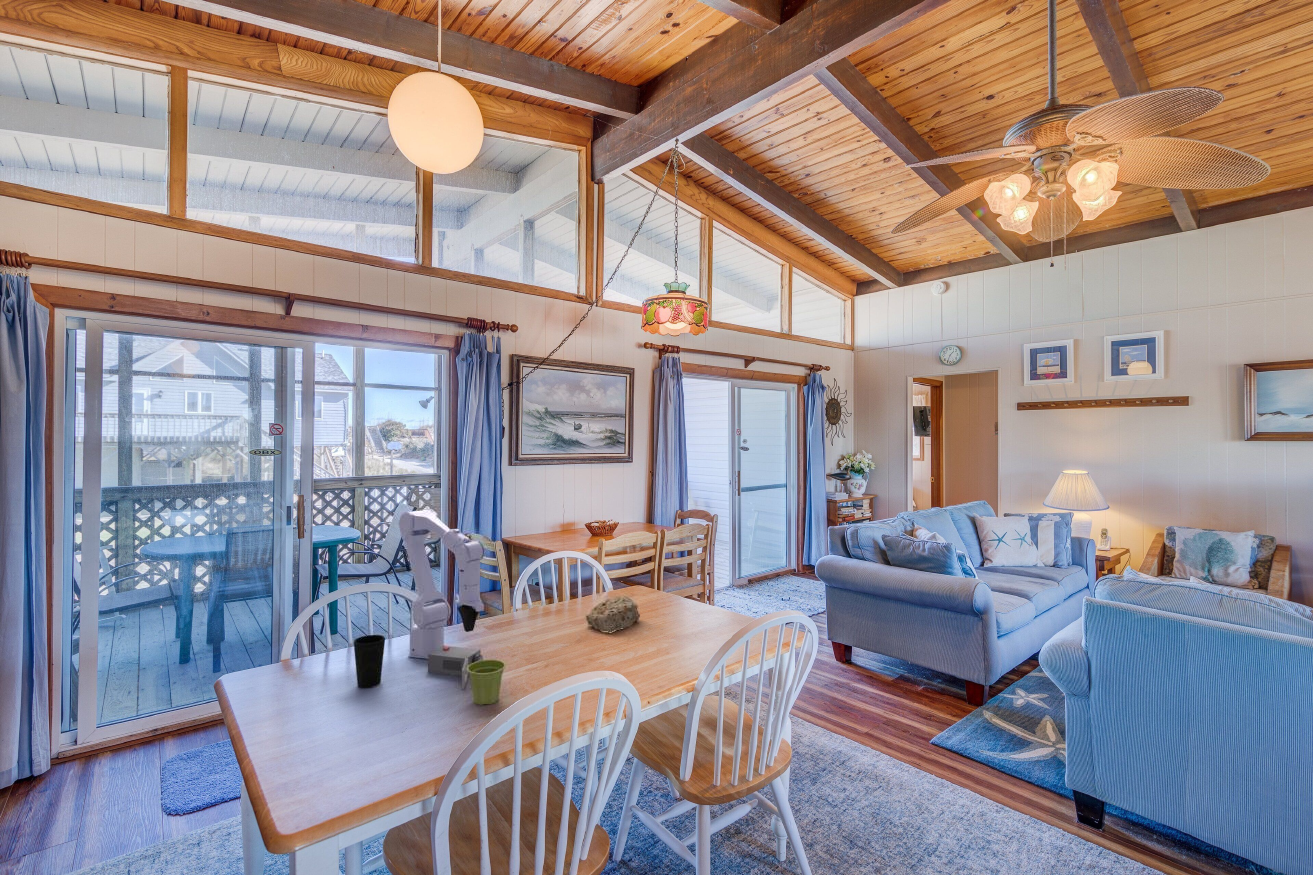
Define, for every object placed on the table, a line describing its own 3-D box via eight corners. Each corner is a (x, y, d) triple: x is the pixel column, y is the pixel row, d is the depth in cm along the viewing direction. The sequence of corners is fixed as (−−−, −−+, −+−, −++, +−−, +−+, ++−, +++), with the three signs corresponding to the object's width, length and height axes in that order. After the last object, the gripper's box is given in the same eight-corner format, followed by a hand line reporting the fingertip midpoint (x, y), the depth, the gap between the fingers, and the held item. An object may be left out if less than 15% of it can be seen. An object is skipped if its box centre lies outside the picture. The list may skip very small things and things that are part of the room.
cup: (353, 691, 161) (354, 645, 161) (352, 681, 168) (353, 637, 168) (385, 686, 165) (386, 641, 165) (383, 676, 172) (384, 633, 172)
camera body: (427, 672, 175) (428, 652, 175) (443, 662, 183) (443, 643, 183) (471, 677, 172) (471, 656, 172) (485, 667, 179) (485, 647, 179)
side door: (466, 688, 164) (466, 670, 164) (461, 688, 164) (461, 670, 164) (469, 675, 172) (469, 658, 172) (464, 675, 172) (465, 658, 172)
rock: (616, 638, 209) (608, 609, 209) (584, 640, 217) (577, 612, 217) (649, 617, 226) (643, 590, 226) (618, 619, 234) (612, 593, 234)
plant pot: (484, 711, 151) (485, 676, 151) (458, 702, 156) (459, 667, 156) (513, 698, 159) (513, 664, 159) (487, 689, 164) (487, 656, 164)
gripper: (445, 581, 182) (445, 627, 182) (467, 590, 171) (466, 640, 171) (468, 577, 187) (468, 622, 187) (490, 586, 176) (490, 634, 176)
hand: (468, 630), depth 180 cm, fingers closed
